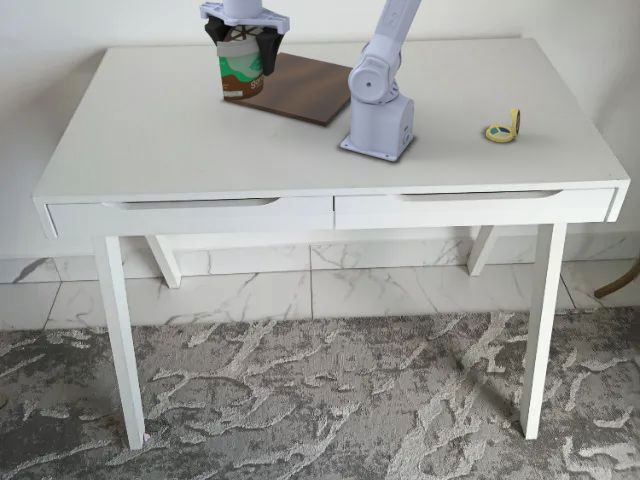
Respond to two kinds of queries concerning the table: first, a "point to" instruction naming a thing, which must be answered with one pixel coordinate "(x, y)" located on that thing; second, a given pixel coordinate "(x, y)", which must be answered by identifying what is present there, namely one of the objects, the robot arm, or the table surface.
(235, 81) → the food container
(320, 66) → the walnut board
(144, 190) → the table surface
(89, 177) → the table surface
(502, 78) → the table surface
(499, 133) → the eyeshadow
